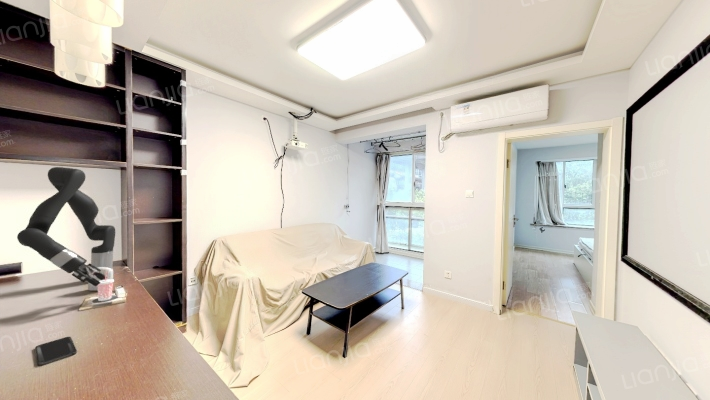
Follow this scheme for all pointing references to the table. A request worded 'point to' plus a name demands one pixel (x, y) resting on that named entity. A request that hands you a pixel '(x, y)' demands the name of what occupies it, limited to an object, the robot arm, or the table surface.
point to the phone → (55, 351)
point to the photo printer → (109, 276)
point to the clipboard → (101, 302)
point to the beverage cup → (105, 289)
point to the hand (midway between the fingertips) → (101, 281)
